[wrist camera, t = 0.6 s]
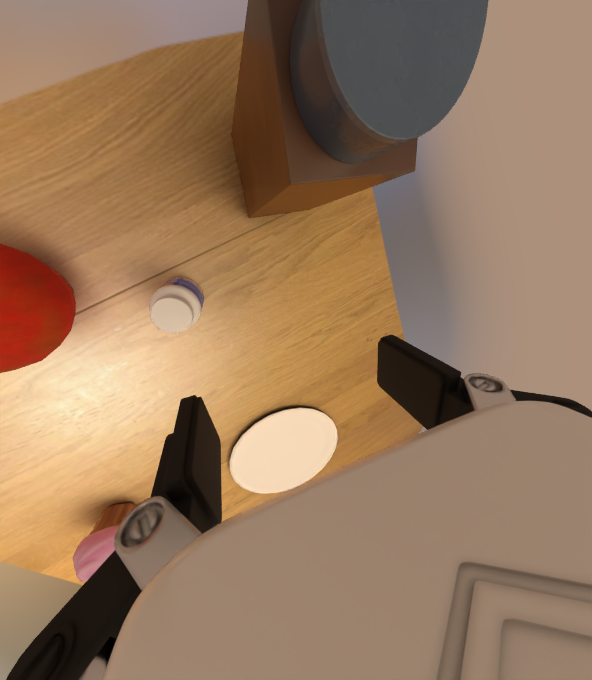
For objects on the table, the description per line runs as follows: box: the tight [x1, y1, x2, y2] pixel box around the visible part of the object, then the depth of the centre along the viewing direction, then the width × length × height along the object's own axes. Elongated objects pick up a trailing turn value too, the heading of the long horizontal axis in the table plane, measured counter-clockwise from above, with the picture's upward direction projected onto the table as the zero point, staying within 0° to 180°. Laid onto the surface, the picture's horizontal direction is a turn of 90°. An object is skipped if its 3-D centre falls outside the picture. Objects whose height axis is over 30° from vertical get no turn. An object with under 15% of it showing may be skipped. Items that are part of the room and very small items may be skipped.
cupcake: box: [73, 503, 135, 582], centre depth 38 cm, size 9×9×10 cm
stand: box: [231, 0, 418, 218], centre depth 21 cm, size 9×9×20 cm
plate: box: [230, 407, 338, 494], centre depth 50 cm, size 25×25×1 cm
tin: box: [290, 0, 488, 164], centre depth 10 cm, size 8×8×4 cm
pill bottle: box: [149, 277, 204, 334], centre depth 27 cm, size 5×5×10 cm
